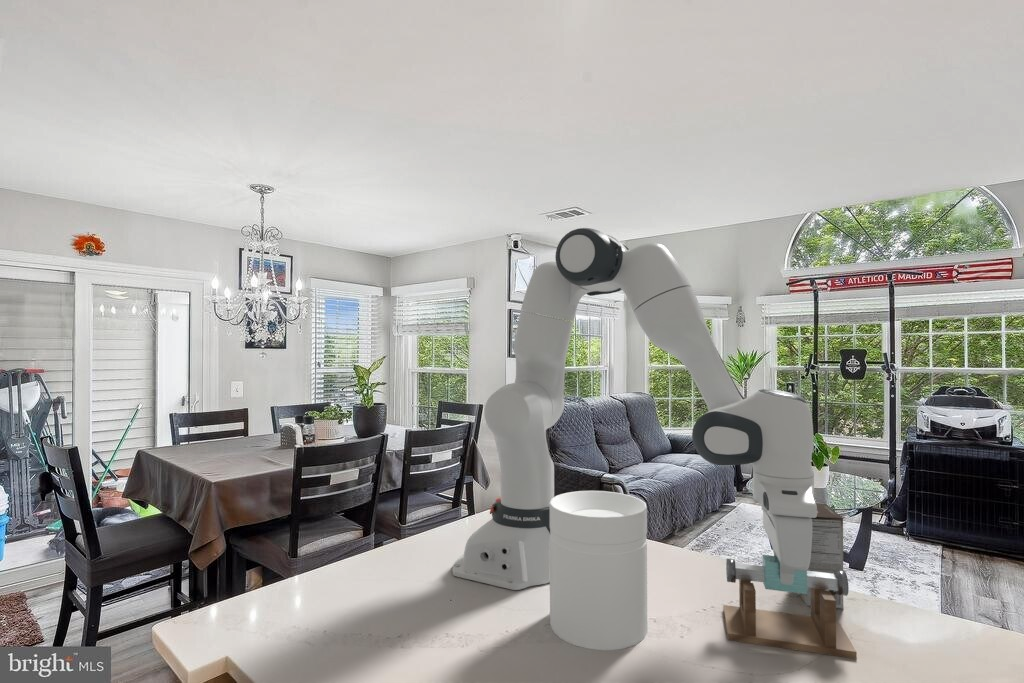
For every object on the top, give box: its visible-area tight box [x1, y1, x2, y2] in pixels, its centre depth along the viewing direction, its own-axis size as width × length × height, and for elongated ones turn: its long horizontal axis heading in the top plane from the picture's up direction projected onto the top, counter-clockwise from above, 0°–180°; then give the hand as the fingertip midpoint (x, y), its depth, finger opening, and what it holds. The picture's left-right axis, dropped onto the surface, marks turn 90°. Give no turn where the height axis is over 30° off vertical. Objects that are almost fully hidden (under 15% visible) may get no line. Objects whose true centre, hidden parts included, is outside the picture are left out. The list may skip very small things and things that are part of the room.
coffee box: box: [798, 503, 844, 609], centre depth 100 cm, size 9×6×16 cm
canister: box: [549, 490, 649, 652], centre depth 90 cm, size 16×16×20 cm
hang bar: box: [725, 554, 849, 597], centre depth 87 cm, size 17×4×4 cm, turn 73°
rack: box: [723, 579, 858, 659], centre depth 87 cm, size 18×10×8 cm, turn 73°
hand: (783, 577), depth 87 cm, fingers closed on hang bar, 3 cm apart
